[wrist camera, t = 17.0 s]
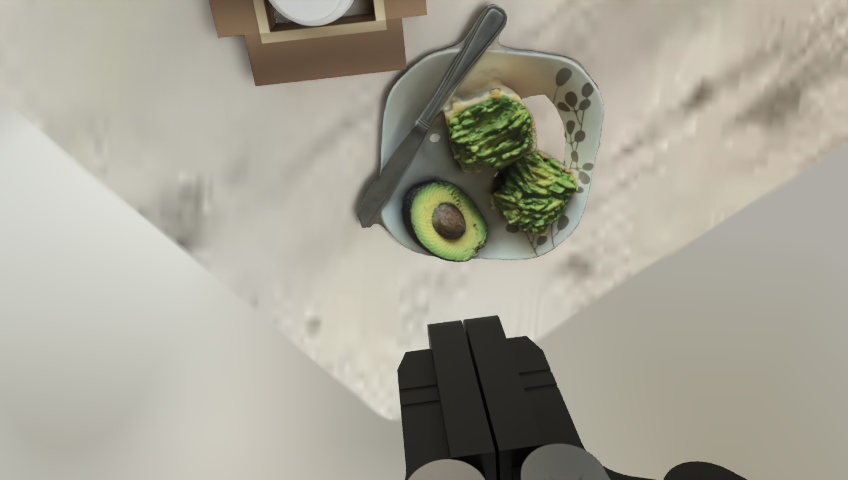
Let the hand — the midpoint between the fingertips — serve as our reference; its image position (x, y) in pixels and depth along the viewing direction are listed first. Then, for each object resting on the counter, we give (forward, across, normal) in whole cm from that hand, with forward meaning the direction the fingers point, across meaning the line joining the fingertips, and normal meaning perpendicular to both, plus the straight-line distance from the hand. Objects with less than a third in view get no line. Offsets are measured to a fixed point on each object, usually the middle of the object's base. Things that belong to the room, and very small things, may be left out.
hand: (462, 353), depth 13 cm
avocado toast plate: (+34, -6, +10) cm, 35 cm away
